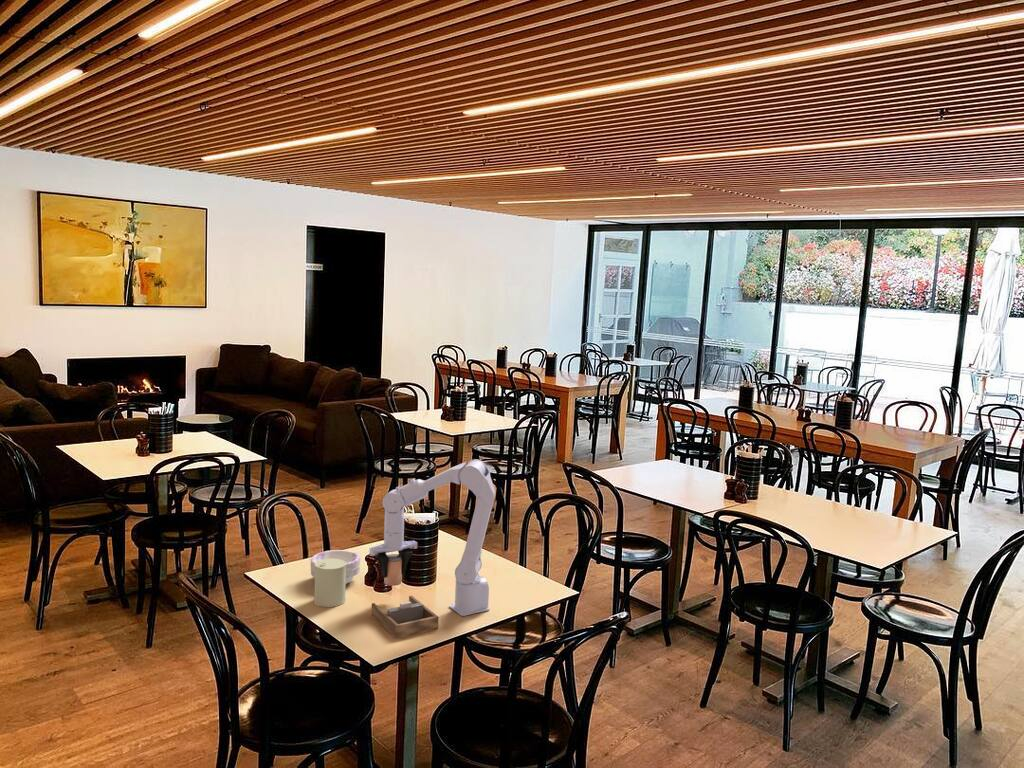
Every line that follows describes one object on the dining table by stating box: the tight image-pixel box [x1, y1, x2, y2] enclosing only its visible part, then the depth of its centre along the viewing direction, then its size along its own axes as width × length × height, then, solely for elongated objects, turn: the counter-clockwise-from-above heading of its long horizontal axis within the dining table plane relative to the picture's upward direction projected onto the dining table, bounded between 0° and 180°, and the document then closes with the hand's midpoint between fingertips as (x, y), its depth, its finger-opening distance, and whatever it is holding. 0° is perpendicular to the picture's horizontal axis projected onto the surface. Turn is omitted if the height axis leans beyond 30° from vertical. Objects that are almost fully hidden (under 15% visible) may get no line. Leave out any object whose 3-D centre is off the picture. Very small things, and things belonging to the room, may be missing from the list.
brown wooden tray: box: [370, 595, 440, 639], centre depth 226 cm, size 13×17×4 cm
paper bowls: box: [310, 549, 361, 585], centre depth 254 cm, size 15×15×8 cm
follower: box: [386, 600, 425, 624], centre depth 226 cm, size 10×2×5 cm, turn 123°
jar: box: [383, 553, 403, 587], centre depth 239 cm, size 5×5×8 cm
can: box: [313, 558, 347, 608], centre depth 238 cm, size 9×9×12 cm
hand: (393, 574), depth 239 cm, fingers closed on jar, 5 cm apart
